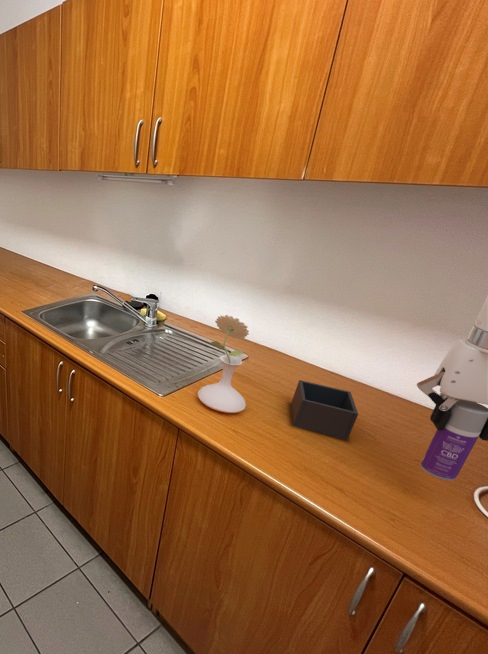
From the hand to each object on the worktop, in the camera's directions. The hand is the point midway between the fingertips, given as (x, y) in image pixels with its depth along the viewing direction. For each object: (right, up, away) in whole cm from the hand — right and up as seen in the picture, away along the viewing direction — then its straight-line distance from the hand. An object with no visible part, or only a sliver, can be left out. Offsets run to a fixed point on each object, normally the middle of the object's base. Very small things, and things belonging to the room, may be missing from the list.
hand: (458, 429), depth 71 cm
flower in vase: (-23, -4, +37) cm, 43 cm away
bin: (-2, -6, +29) cm, 29 cm away
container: (0, -9, +4) cm, 10 cm away
